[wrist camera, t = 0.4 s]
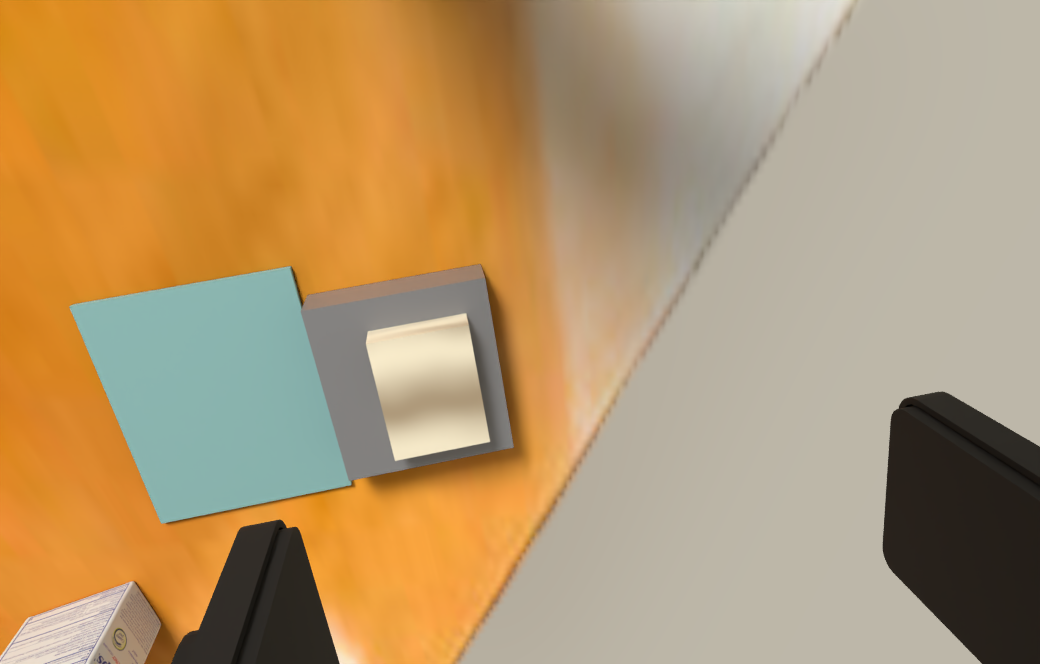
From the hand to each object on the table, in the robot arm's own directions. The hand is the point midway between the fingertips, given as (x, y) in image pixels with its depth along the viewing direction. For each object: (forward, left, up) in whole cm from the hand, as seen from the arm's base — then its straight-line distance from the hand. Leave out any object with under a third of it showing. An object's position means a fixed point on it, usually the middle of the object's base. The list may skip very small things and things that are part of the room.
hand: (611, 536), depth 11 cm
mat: (+11, -18, -34) cm, 40 cm away
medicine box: (+26, -31, -34) cm, 53 cm away
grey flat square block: (+11, -5, -34) cm, 36 cm away
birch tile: (+11, -4, -31) cm, 33 cm away
